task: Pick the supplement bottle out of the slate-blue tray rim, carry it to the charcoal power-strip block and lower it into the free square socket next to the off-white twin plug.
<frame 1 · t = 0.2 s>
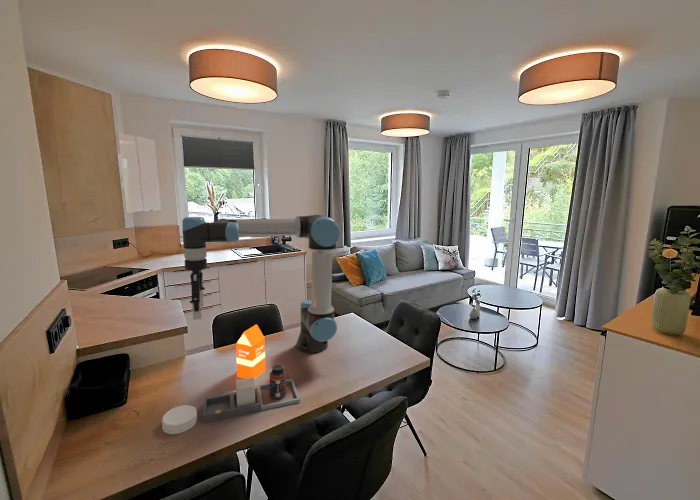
hand: (198, 312, 125), 28 cm above the table, fingers open, 13 cm apart
supplement bottle: (277, 395, 121), resting in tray
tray: (277, 394, 121), on the table
coaster: (180, 424, 105), on the table
orange juice: (251, 373, 135), on the table
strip: (232, 407, 114), on the table
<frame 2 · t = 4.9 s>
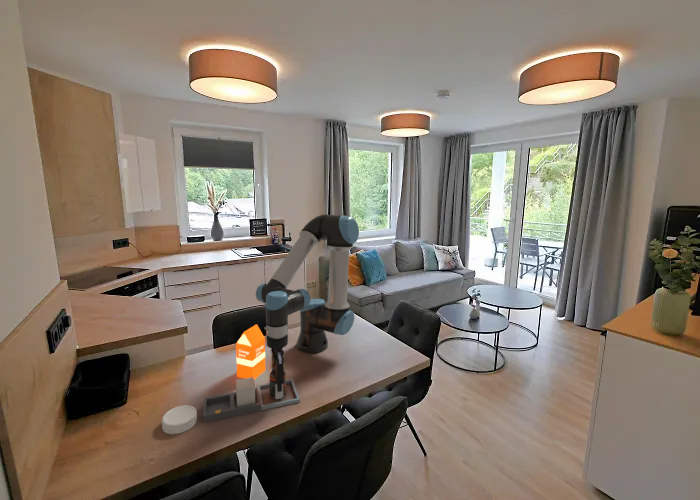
hand: (277, 392, 121), 1 cm above the table, fingers closed on supplement bottle, 6 cm apart
supplement bottle: (277, 395, 121), resting in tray, touching gripper
everything else where it was.
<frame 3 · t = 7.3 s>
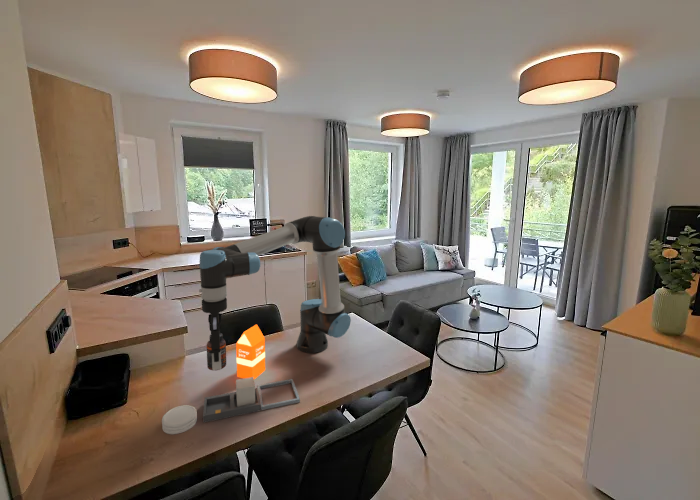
hand: (217, 364, 109), 17 cm above the table, fingers closed on supplement bottle, 6 cm apart
supplement bottle: (217, 367, 109), point 16 cm above the table, touching gripper
everything else where it was.
when the fingers open (3 cm above the table, at t = 9.8 s): supplement bottle drops 2 cm, resting on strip.
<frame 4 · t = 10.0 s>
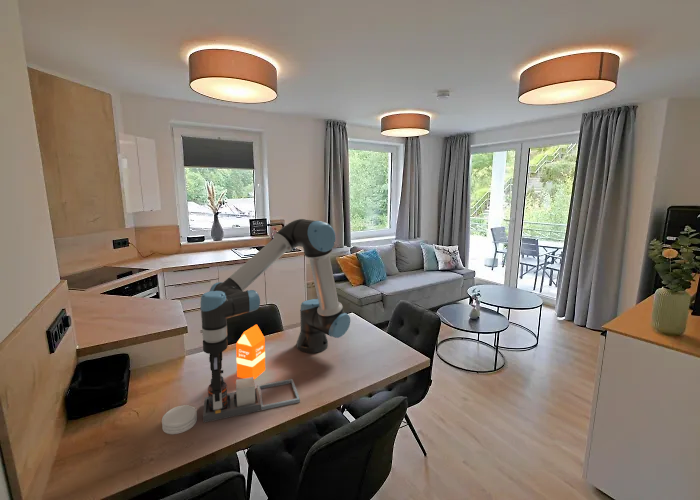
hand: (218, 399, 111), 4 cm above the table, fingers open, 8 cm apart
supplement bottle: (218, 409, 112), resting on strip
everything else where it was.
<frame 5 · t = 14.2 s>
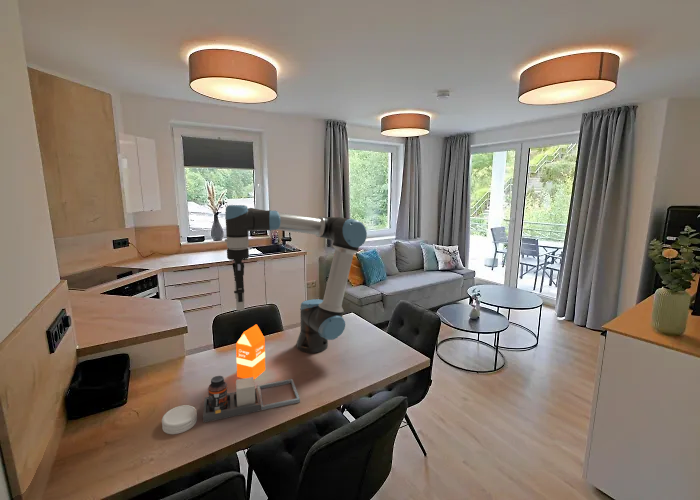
hand: (239, 303, 122), 33 cm above the table, fingers open, 13 cm apart
nothing on the table moved.
at the end: supplement bottle 0.1 cm from the target spot on the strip, point 0.2 cm above the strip's base; supplement bottle tilted 0°; the gripper is holding nothing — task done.
